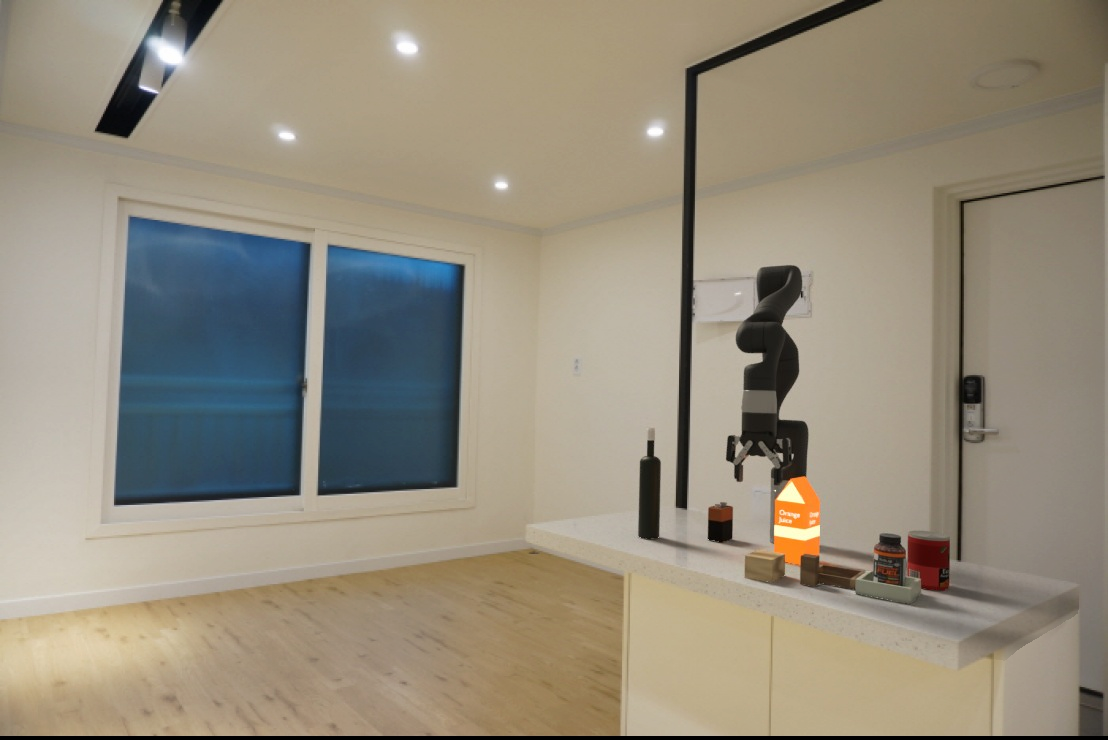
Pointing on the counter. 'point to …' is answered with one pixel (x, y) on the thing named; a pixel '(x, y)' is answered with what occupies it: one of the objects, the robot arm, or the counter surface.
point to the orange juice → (797, 521)
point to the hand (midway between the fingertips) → (757, 483)
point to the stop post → (809, 569)
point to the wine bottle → (649, 491)
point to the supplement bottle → (889, 560)
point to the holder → (838, 576)
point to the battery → (720, 522)
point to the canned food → (929, 559)
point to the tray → (888, 588)
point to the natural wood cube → (764, 565)
